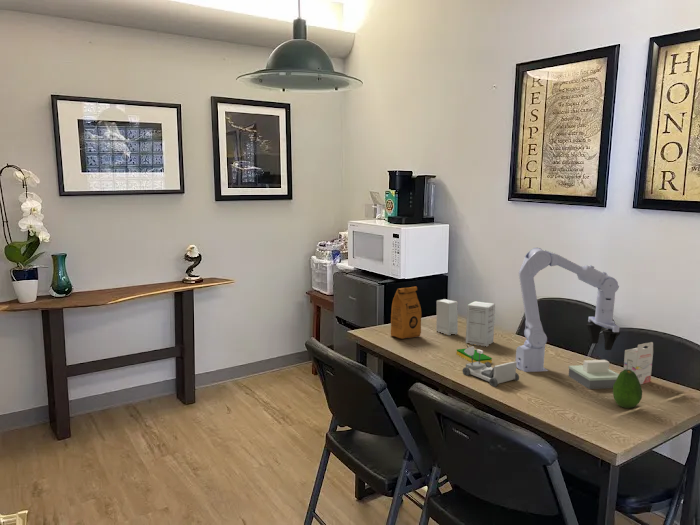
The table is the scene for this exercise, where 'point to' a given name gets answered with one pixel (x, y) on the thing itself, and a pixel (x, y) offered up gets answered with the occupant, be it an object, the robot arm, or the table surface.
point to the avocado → (627, 389)
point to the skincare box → (447, 316)
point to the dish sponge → (474, 356)
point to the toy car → (490, 369)
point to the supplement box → (480, 323)
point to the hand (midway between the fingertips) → (601, 346)
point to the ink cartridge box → (640, 361)
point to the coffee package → (405, 314)
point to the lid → (595, 370)
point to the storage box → (591, 384)
